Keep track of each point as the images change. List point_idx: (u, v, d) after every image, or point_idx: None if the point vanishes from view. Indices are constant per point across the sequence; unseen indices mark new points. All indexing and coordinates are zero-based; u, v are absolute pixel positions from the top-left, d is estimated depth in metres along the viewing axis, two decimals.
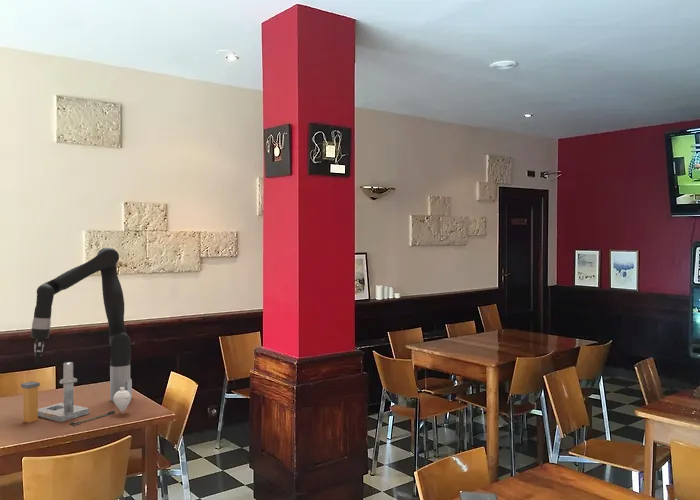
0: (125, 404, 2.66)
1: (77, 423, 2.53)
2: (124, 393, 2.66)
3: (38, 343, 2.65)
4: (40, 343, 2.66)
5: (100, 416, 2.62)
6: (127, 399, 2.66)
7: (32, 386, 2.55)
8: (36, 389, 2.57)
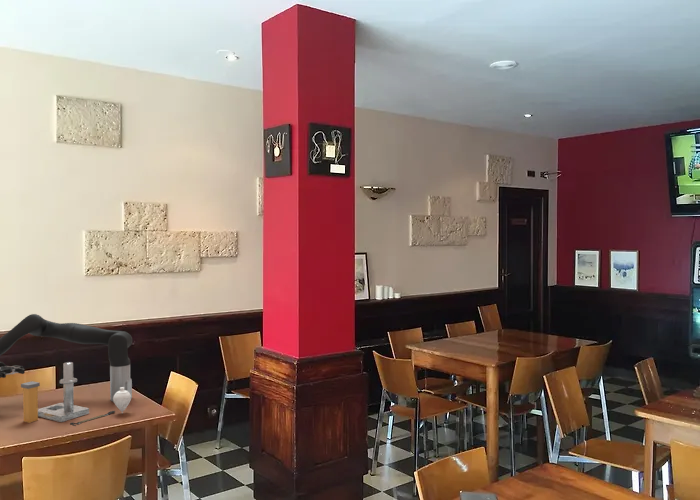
0: (125, 404, 2.66)
1: (77, 423, 2.54)
2: (124, 393, 2.66)
3: None
4: None
5: (100, 416, 2.63)
6: (127, 399, 2.66)
7: (32, 386, 2.55)
8: (36, 389, 2.57)
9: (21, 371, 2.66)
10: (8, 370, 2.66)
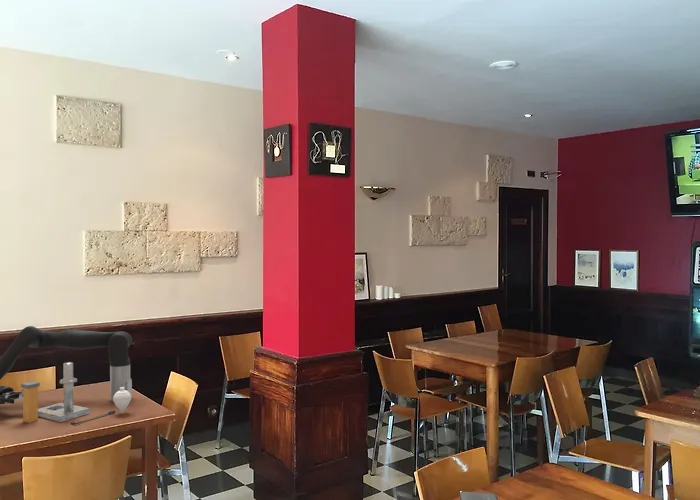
0: (125, 404, 2.66)
1: (78, 423, 2.54)
2: (124, 393, 2.66)
3: None
4: None
5: (101, 416, 2.63)
6: (127, 399, 2.66)
7: (32, 386, 2.55)
8: (36, 389, 2.57)
9: None
10: (16, 395, 2.64)
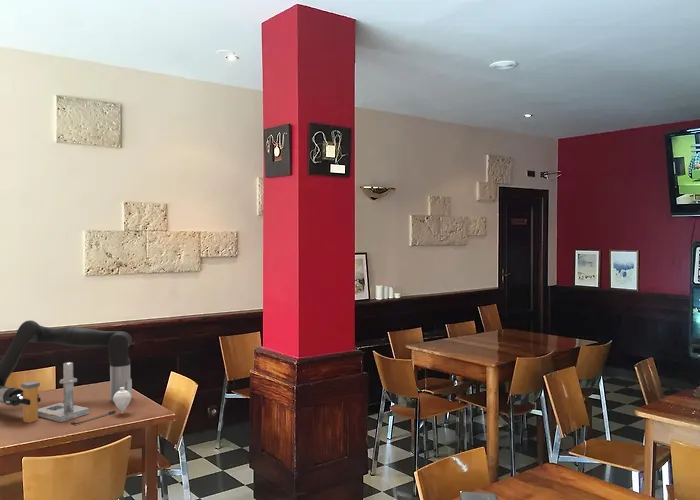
0: (125, 404, 2.66)
1: (78, 423, 2.54)
2: (124, 393, 2.66)
3: (6, 403, 2.55)
4: (6, 401, 2.55)
5: (101, 416, 2.63)
6: (127, 399, 2.66)
7: (32, 386, 2.55)
8: (36, 389, 2.57)
9: None
10: None
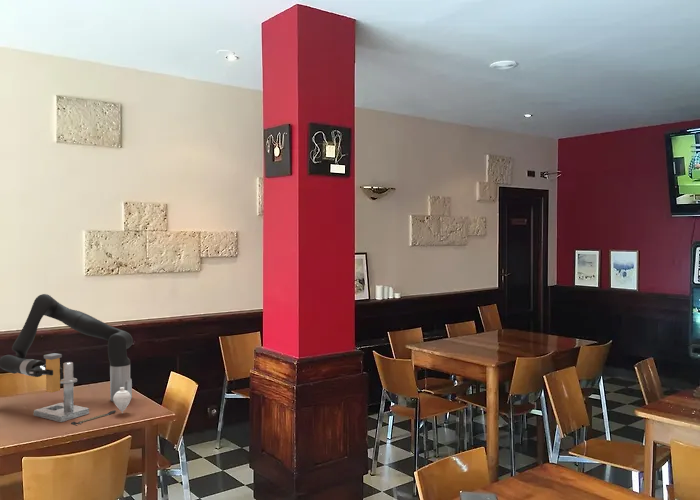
0: (125, 404, 2.66)
1: (79, 423, 2.54)
2: (124, 393, 2.66)
3: (30, 373, 2.63)
4: (30, 371, 2.63)
5: (101, 415, 2.63)
6: (127, 399, 2.66)
7: (55, 357, 2.64)
8: (58, 360, 2.66)
9: None
10: (46, 369, 2.68)
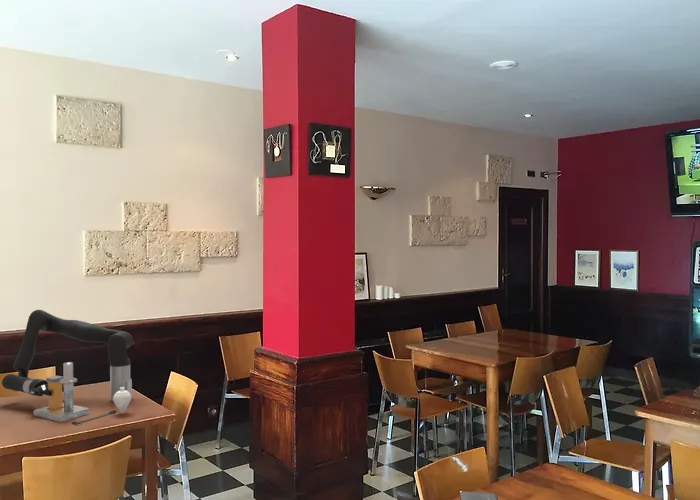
0: (125, 404, 2.66)
1: (79, 422, 2.54)
2: (124, 393, 2.66)
3: (31, 393, 2.65)
4: (31, 391, 2.65)
5: (102, 415, 2.63)
6: (127, 399, 2.66)
7: (57, 380, 2.66)
8: None
9: (63, 389, 2.70)
10: None
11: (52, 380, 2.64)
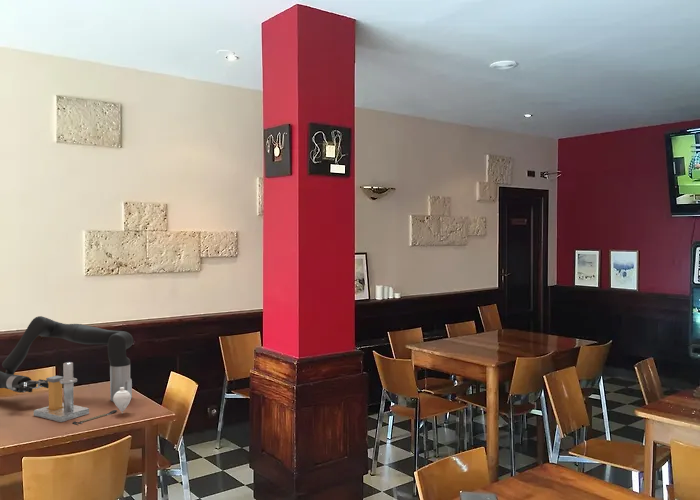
0: (125, 404, 2.66)
1: (80, 422, 2.55)
2: (124, 393, 2.66)
3: (13, 389, 2.72)
4: (13, 387, 2.72)
5: (102, 415, 2.64)
6: (127, 399, 2.66)
7: (57, 380, 2.66)
8: None
9: (46, 385, 2.77)
10: (34, 384, 2.77)
11: (52, 380, 2.64)
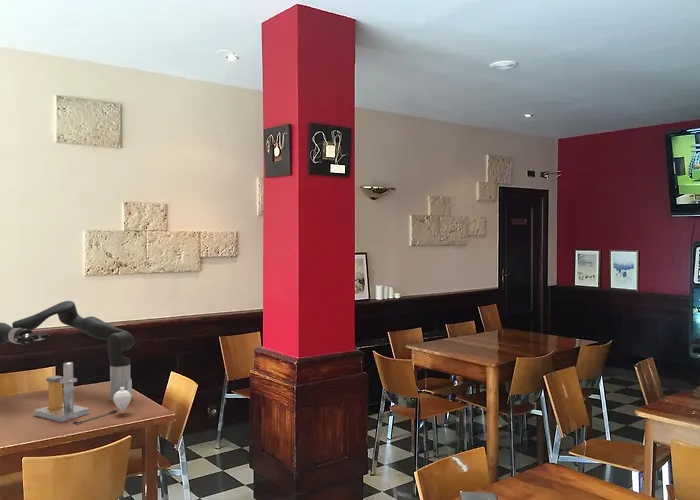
0: (125, 404, 2.66)
1: (80, 422, 2.55)
2: (124, 393, 2.66)
3: (15, 340, 2.77)
4: (15, 338, 2.77)
5: (103, 415, 2.64)
6: (127, 399, 2.66)
7: (57, 380, 2.66)
8: None
9: (47, 337, 2.82)
10: (35, 336, 2.82)
11: (52, 380, 2.64)
